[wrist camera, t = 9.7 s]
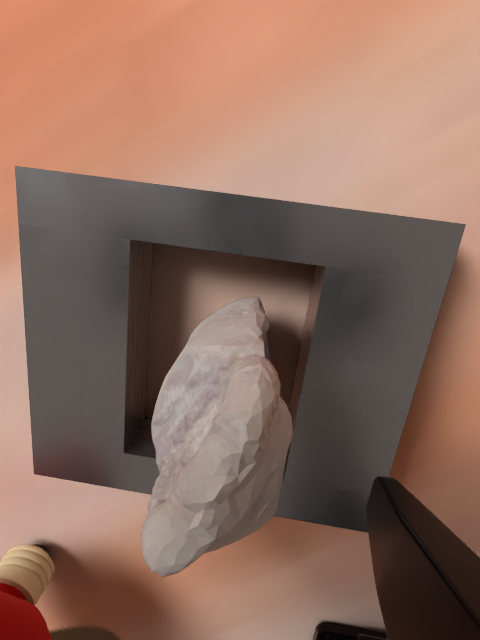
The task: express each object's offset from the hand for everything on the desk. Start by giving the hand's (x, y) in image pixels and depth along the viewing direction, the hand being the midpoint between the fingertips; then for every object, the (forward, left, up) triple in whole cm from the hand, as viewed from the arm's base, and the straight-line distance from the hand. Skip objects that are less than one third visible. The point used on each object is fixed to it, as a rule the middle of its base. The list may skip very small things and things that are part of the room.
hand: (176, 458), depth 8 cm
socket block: (0, 0, -7) cm, 7 cm away
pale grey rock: (0, -1, -8) cm, 8 cm away
